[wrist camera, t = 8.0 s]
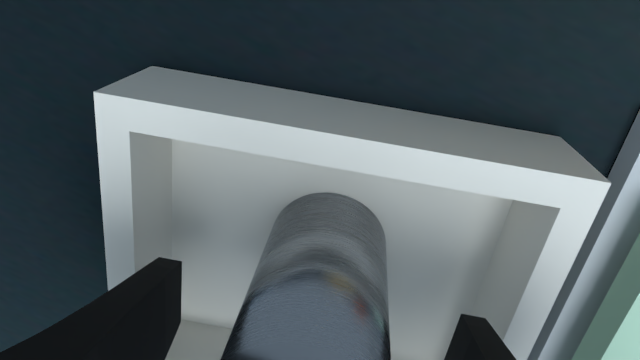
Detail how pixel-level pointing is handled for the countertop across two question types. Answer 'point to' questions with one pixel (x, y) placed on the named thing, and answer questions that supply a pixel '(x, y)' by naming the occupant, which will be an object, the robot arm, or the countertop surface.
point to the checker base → (596, 258)
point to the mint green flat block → (617, 317)
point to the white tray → (347, 179)
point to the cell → (317, 287)
